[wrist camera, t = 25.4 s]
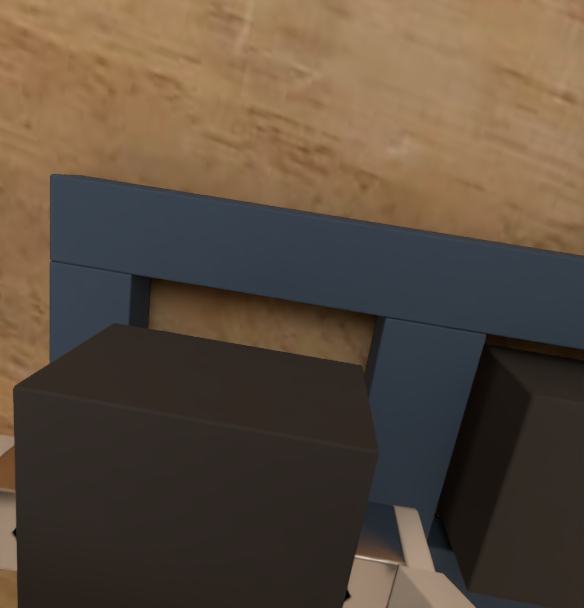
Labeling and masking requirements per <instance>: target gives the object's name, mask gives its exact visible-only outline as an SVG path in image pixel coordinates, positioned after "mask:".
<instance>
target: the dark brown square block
mask: <svg viewBox="0 0 584 608" xmlns="http://www.w3.org/2000/svg"><path fill="white" fill-rule="evenodd" d="M13 401H14V448H15V495H16V542H17V589H18V608H343V604H344V600H345V596H346V591H347V587H348V583H349V579H350V575H351V570H352V566H353V562H354V558H355V553H356V549H357V545H358V541H359V537H360V532H361V528H362V524H363V520H364V516H365V511H366V507H367V503H368V499H369V495H370V490H371V486H372V482H373V478H374V474H375V469H376V465H377V461H378V457H379V449H378V444H377V439H376V434H375V429H374V424H373V419H372V414H371V409H370V404H369V399H368V394H367V389H366V384H365V379H364V374H363V369H362V366H361V365H356V364H350V363H344V362H338V361H332V360H327V359H321V358H315V357H309V356H303V355H298V354H292V353H286V352H280V351H274V350H268V349H263V348H257V347H251V346H245V345H239V344H234V343H228V342H222V341H216V340H210V339H205V338H199V337H193V336H187V335H181V334H176V333H170V332H164V331H158V330H152V329H147V328H141V327H135V326H129V325H123V324H117V323H113V324H111V325H110V326H108V327H107V328H105V329H103V330H102V331H100V332H99V333H97V334H96V335H94V336H92V337H91V338H89V339H88V340H86V341H85V342H83V343H81V344H80V345H78V346H77V347H75V348H74V349H72V350H70V351H69V352H67V353H66V354H64V355H63V356H61V357H59V358H58V359H56V360H55V361H53V362H52V363H50V364H48V365H47V366H45V367H44V368H42V369H41V370H39V371H37V372H36V373H34V374H33V375H31V376H30V377H28V378H26V379H25V380H23V381H22V382H20V383H19V384H17V385H15V387H14V389H13Z"/></svg>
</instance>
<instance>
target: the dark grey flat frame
mask: <svg viewBox="0 0 584 608" xmlns="http://www.w3.org/2000/svg"><path fill="white" fill-rule="evenodd" d="M50 259H51V260H52V261H51V262H50V363H52V362H53V361H55V360H56V359H58V358H59V357H61V356H63V355H64V354H66V353H67V352H69V351H70V350H72V349H74V348H75V347H77V346H78V345H80V344H81V343H83V342H85V341H86V340H88V339H89V338H91V337H92V336H94V335H96V334H97V333H99V332H100V331H102V330H103V329H105V328H107V327H108V326H110V325H111V324H113V323H117V324H123V325H129V326H135V327H141V328H147V326H148V311H149V296H150V280H151V278H157V279H163V280H169V281H174V282H180V283H186V284H192V285H198V286H204V287H210V288H216V289H222V290H228V291H234V292H240V293H246V294H252V295H258V296H264V297H270V298H276V299H282V300H288V301H294V302H300V303H305V304H311V305H317V306H323V307H329V308H335V309H341V310H347V311H353V312H359V313H365V314H371V315H377V320H376V324H375V329H374V334H373V338H372V343H371V347H370V352H369V357H368V361H367V366H366V371H365V375H364V379H365V384H366V389H367V394H368V399H369V404H370V409H371V414H372V419H373V424H374V429H375V434H376V439H377V444H378V449H379V457H378V461H377V465H376V469H375V474H374V478H373V482H372V486H371V490H370V495H369V499H368V501H369V502H375V503H381V504H386V505H397V506H404V507H410V508H415V509H416V510H417V511H418V513H419V517H420V520H421V523H422V527H423V530H424V534H425V537H426V541H427V544H428V547H429V551H430V554H431V558H432V561H433V565H434V568H435V571H436V572H438V573H443V574H444V575H445V576H446V577H447V578H448V579H449V580H450V581H451V582H452V583H453V584H454V585H455V586H456V587H457V589H458V590H459V591H460V592H461V593H462V594H463V595H464V596H465V597H466V598H467V599H468V600H469V601H470V602H471V603H472V604H473V605H474V606H475V607H476V608H547V607H542V606H537V605H531V604H526V603H521V602H515V601H510V600H505V599H500V598H494V597H489V596H484V595H479V594H473V593H469V592H468V591H467V589H466V586H465V583H464V580H463V577H462V575H461V572H460V569H459V566H458V563H457V560H456V557H455V554H454V551H453V549H452V546H451V543H450V540H449V537H448V534H447V531H446V528H445V525H444V523H443V520H442V518H438V517H434V515H435V511H436V508H437V504H438V501H439V498H440V494H441V491H442V487H443V484H444V480H445V477H446V473H447V470H448V467H449V463H450V460H451V456H452V453H453V449H454V446H455V442H456V439H457V435H458V432H459V429H460V425H461V422H462V418H463V415H464V411H465V408H466V404H467V401H468V397H469V394H470V391H471V387H472V384H473V380H474V377H475V373H476V370H477V366H478V363H479V359H480V356H481V353H482V349H483V346H484V342H485V339H486V334H490V335H496V336H502V337H508V338H514V339H520V340H526V341H532V342H538V343H544V344H550V345H556V346H562V347H568V348H573V349H579V350H584V256H580V255H574V254H568V253H562V252H555V251H549V250H543V249H537V248H530V247H524V246H518V245H512V244H506V243H499V242H493V241H487V240H481V239H474V238H468V237H462V236H456V235H449V234H443V233H437V232H431V231H424V230H418V229H412V228H406V227H399V226H393V225H387V224H381V223H374V222H368V221H362V220H356V219H350V218H343V217H337V216H331V215H325V214H318V213H312V212H306V211H300V210H293V209H287V208H281V207H275V206H268V205H262V204H256V203H250V202H243V201H237V200H231V199H225V198H218V197H212V196H206V195H200V194H194V193H187V192H181V191H175V190H169V189H162V188H156V187H150V186H144V185H137V184H131V183H125V182H119V181H112V180H106V179H100V178H94V177H87V176H81V175H61V174H52V175H51V176H50Z"/></svg>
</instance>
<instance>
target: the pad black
mask: <svg viewBox="0 0 584 608" xmlns="http://www.w3.org/2000/svg"><path fill="white" fill-rule="evenodd" d="M437 505H438V508H439V511H440V514H441V517H442V520H443V523H444V525H445V528H446V531H447V534H448V537H449V540H450V543H451V546H452V549H453V551H454V554H455V557H456V560H457V563H458V566H459V569H460V572H461V575H462V577H463V580H464V583H465V586H466V589H467V591H468V592H469V593H473V594H479V595H484V596H489V597H494V598H500V599H505V600H510V601H515V602H521V603H526V604H531V605H537V606H542V607H547V608H584V361H583V360H577V359H571V358H565V357H559V356H553V355H547V354H541V353H536V352H530V351H524V350H518V349H512V348H506V347H500V346H494V345H488V344H484V346H483V349H482V353H481V356H480V359H479V363H478V366H477V370H476V373H475V377H474V380H473V384H472V387H471V391H470V394H469V397H468V401H467V404H466V408H465V411H464V415H463V418H462V422H461V425H460V429H459V432H458V435H457V439H456V442H455V446H454V449H453V453H452V456H451V460H450V463H449V467H448V470H447V473H446V477H445V480H444V484H443V487H442V491H441V494H440V498H439V501H438V504H437Z"/></svg>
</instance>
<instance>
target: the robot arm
mask: <svg viewBox="0 0 584 608" xmlns="http://www.w3.org/2000/svg"><path fill="white" fill-rule="evenodd" d="M0 569H7V570H13V571H17V542H16V495H15V448H14V435H10V434H3V435H0ZM343 608H476V607H475V606H474V605H473V604H472V603H471V602H470V601H469V600H468V599H467V598H466V597H465V596H464V595H463V594H462V593H461V592H460V591H459V590H458V589H457V587H456V586H455V585H454V584H453V583H452V582H451V581H450V580H449V579H448V578H447V577H446V576H445V575H444V574H443V573H438V572H436V571H435V568H434V565H433V561H432V558H431V554H430V551H429V547H428V544H427V541H426V537H425V534H424V530H423V527H422V523H421V520H420V517H419V513H418V511H417V510H416V509H415V508H410V507H404V506H397V505H386V504H381V503H375V502H369V501H368V503H367V507H366V511H365V516H364V520H363V524H362V528H361V532H360V537H359V541H358V545H357V549H356V553H355V558H354V562H353V566H352V570H351V575H350V579H349V583H348V587H347V591H346V596H345V600H344V604H343Z"/></svg>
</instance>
